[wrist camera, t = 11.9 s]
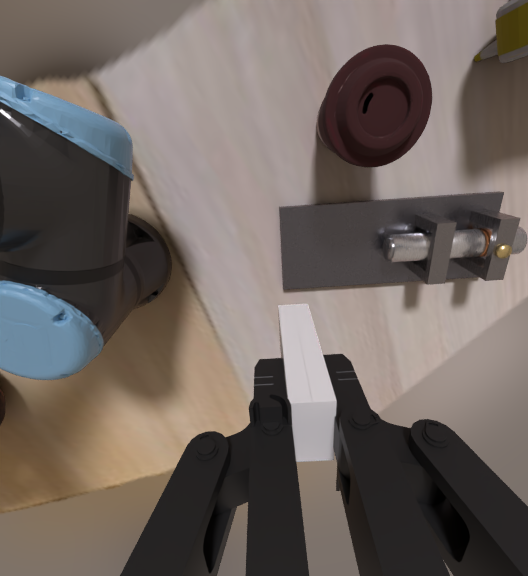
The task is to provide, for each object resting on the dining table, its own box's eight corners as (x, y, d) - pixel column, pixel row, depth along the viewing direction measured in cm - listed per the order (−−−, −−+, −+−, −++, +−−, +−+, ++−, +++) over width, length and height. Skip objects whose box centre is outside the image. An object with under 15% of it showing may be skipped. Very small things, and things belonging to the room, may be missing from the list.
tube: (380, 257, 47) (390, 266, 43) (382, 231, 45) (393, 238, 42) (501, 249, 47) (522, 258, 43) (508, 222, 45) (530, 229, 41)
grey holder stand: (283, 286, 50) (286, 309, 43) (279, 206, 45) (282, 217, 38) (478, 274, 50) (514, 294, 43) (499, 191, 44) (543, 199, 37)
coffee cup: (394, 128, 41) (460, 118, 27) (332, 177, 43) (364, 190, 30) (355, 57, 38) (409, 5, 24) (291, 114, 40) (306, 97, 26)
